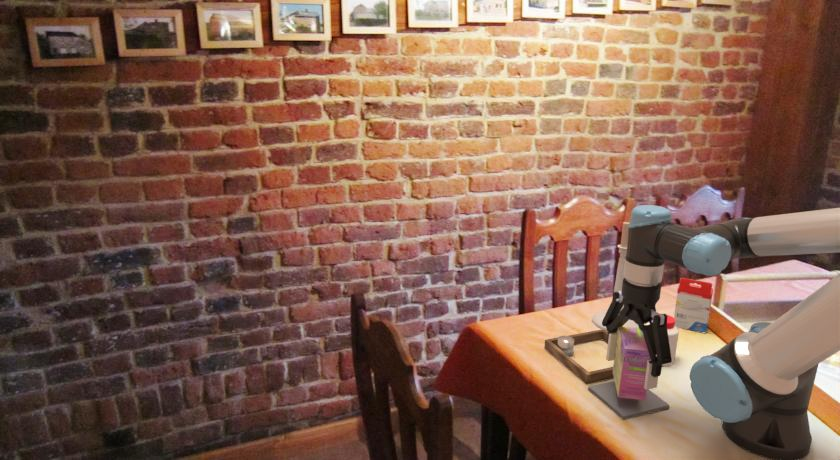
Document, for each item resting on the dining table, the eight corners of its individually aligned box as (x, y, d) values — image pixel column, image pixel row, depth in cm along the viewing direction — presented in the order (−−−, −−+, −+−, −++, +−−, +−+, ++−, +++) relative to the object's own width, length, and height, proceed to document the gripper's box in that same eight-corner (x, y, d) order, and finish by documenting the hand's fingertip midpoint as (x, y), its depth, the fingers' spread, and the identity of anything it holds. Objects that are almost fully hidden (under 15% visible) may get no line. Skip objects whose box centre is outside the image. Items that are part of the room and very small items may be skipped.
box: (646, 401, 121) (653, 351, 117) (617, 398, 122) (623, 348, 118) (638, 375, 130) (644, 328, 127) (612, 372, 131) (617, 325, 128)
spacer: (576, 355, 145) (577, 341, 144) (562, 358, 144) (563, 344, 143) (567, 348, 149) (568, 334, 147) (553, 351, 147) (554, 337, 146)
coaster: (669, 408, 123) (669, 405, 123) (623, 419, 120) (623, 416, 119) (631, 379, 134) (631, 376, 134) (588, 389, 130) (588, 386, 130)
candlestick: (589, 328, 160) (599, 224, 151) (595, 310, 171) (604, 212, 162) (638, 336, 155) (652, 230, 146) (640, 317, 166) (653, 217, 157)
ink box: (707, 327, 161) (715, 278, 156) (705, 334, 157) (713, 283, 152) (675, 319, 165) (682, 271, 161) (672, 326, 161) (679, 277, 157)
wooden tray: (649, 370, 138) (650, 361, 138) (586, 384, 132) (587, 374, 132) (602, 337, 155) (603, 329, 154) (544, 348, 149) (545, 339, 148)
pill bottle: (679, 357, 144) (685, 317, 141) (667, 369, 139) (673, 328, 136) (648, 347, 149) (653, 308, 146) (636, 358, 144) (641, 318, 141)
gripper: (701, 300, 109) (685, 399, 116) (619, 259, 131) (609, 344, 137) (670, 305, 107) (655, 406, 113) (591, 262, 128) (582, 350, 135)
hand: (630, 373), depth 125 cm, fingers closed on box, 12 cm apart
